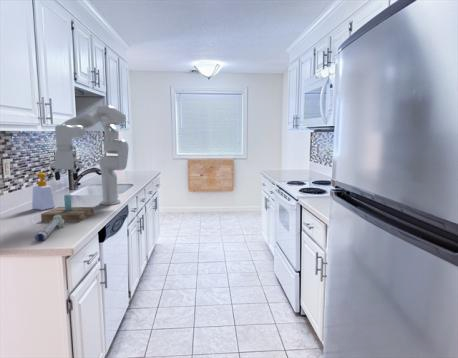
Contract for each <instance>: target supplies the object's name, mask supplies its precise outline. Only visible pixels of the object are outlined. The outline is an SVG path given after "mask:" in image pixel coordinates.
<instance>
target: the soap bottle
mask: <svg viewBox="0 0 458 358" xmlns="http://www.w3.org/2000/svg"><path fill="white" fill-rule="evenodd" d="M33 176H37V178H39V180H38V181H37V185H34V186H33V187H32V200H31V201H32V202H31V208H32V209H33V210H39V211H45V210H46V211H47V210H51V209H55V208H56V203H55V199H54V198H55V197H54V192H53V187H52V186H51V185H48V184H47V180H44V178H46V176H47V173H45V172H39V173H35V174H31V175H28V176H27V175H26V177H27V178H30V177H33Z"/></svg>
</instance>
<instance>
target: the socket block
mask: <svg viewBox="0 0 458 358" xmlns="http://www.w3.org/2000/svg"><path fill="white" fill-rule="evenodd" d="M71 208H72V211H70V212H69V211H65V206H57V207H54V208H51V209H49V210H48V211H47V210H46V211H45V212H42V213H40V220H41V222H43V223H44V222H47V223H50V222H51V221H52V220H53V217H54V216H55V215H61V217H62V220H64V223H80V222H82V221H84V220H86V219H88V218H89V217H91V216H93V215H94V213H95V212H94V206H93V207H92V206H71Z"/></svg>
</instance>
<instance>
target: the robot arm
mask: <svg viewBox="0 0 458 358" xmlns="http://www.w3.org/2000/svg"><path fill="white" fill-rule="evenodd" d="M98 123H100V124H101V125H102V127H103V130H104V139H103V151H104V153H106V154H110V155H104V156H101V157H100V159H99V161H98V163H99V168H100V174H101V188H102V189H101V190H102V192H101V193H102V194H101V195H102V200H101V201H100V202H99V203H100V205H105V206H106V205H107V206H109V205H110V206H111V205H112V206H113V205H118V204H120V203H121V200H120V199H119V194H118V192H119V191H118V176H117V173H116V171H125V169H126V168H127V166H128V159H129V157H128V156H129V144H128V142H127V140H125V139H119V130H118V128H117V127H116V126H121V125H123V124H125V123H126V115H125V114H124V113H123V112H122V111H121V110H119V109H118V108H116V107H114V106H112V105H108V104H107V105H105V104H102V105H101V104H100V105H99V104H98V105H94V106H91V108H90V109H88V110H87V111H85V112H84V113H83V114H79V115H77V116H75V117H72V118H70V119H67V120H65V121H64V122H62V123H61V124H57V125H55V127H54V133H55V142H56V143H55V144H56V150H55V154H54V162H52V163H50V164H49V165H48V166H49V168H50V169H51V171H52V172H53V173H54V179H55V181H59V180H61V174H60V171H61V170H66V171H67V170H68V171H70V170H71V171H72V172H73V173H72V174H73V175H72V176H73V181H74V182H75V181H78V179H79V172H80V171H81V169H82V168H83V164H81V163H79V162H77V156H76V153H75V151H74V150H75V148H76V147H75V146H73V139H75V140H77V139H82V138H83V137H85V135H86V130H87V129H89V128H92V127H94V126H96V124H98Z"/></svg>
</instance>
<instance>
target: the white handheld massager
mask: <svg viewBox="0 0 458 358" xmlns="http://www.w3.org/2000/svg"><path fill="white" fill-rule="evenodd" d="M64 226H65V222H64V220H62V217H61V215H55V216H54V217H53V220H52V221H51V222H48V224H46V225H45V226H44V227H43V228H42V229H40V230H38V232H37V233H36V235H35V236H34V241H35V242H38V241H43V242H44V241H45V240H46V239H47V238H48V237H49V235H50V234H51V233H52V232H53V230H54V228H58V229H61V228H64ZM38 243H39V242H38Z"/></svg>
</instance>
